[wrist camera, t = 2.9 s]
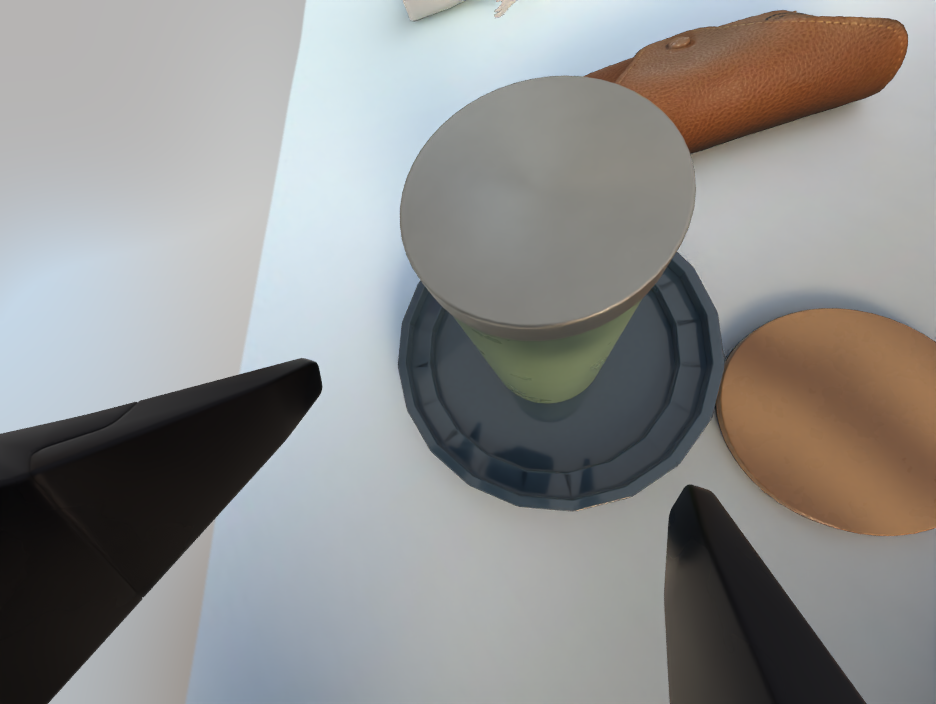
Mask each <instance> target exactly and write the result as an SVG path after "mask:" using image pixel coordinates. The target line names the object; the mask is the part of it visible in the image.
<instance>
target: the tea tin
mask: <svg viewBox="0 0 936 704" xmlns="http://www.w3.org/2000/svg"><path fill="white" fill-rule="evenodd" d="M695 193H696V184H695V171H694V167H693V163H692V159H691V155H690V152H689V149H688V147H687V145H686V143H685V140H684V138H683V136H682V135H681V133H680V132H679V130H678V129H677V127H676V126H675V124H674V123H673V122H672V121H671V120H670V119H669V117H668V116H667V115H666V114H665V113H664V112H663V111H662V110H661V109H660V108H658V107H657V106H656V105H655V104H653V103H652V102H651V101H650V100H648V99H646V98H645V97H643V96H641V95H640V94H638V93H636V92H635V91H632V90H630V89H628V88H625V87H623V86H621V85H618V84H615V83H611V82H608V81H604V80H601V79H595V78H589V77H581V76H549V77H542V78H535V79H529V80H525V81H521V82H517V83H514V84H511V85H508V86H505V87H502V88H499V89H497V90H495V91H492V92H490V93H488V94H486V95H484V96H482V97H480V98H478V99H477V100H475V101H473V102H471V103H470V104H468V105H466V106H465V107H464V108H462V109H461V110H459V111H458V112H457V113H455V114H454V115H453V116H452V117H450V118H449V119H448V120H447V121H446V122H445V123H444V124H443V125H441V126H440V127H439V129H438V130H437V131H436V132H435V133H434V134H433V135H432V136H431V137H430V138H429V140H428V141H427V143H426V144H425V145H424V147H423V148H422V149H421V151H420V152H419V154H418V156H417V158H416V159H415V161H414V163H413V165H412V167H411V169H410V172H409V174H408V176H407V179H406V182H405V185H404V189H403V192H402V198H401V205H400V229H401V237H402V242H403V245H404V249H405V252H406V255H407V257H408V259H409V262H410V264H411V266H412V268H413V270H414V271H415V273H416V274H417V276H418V277H419V279H420V280H421V282H422V283H423V284H424V285H425V287H426V288H427V289H428V291H429V292H430V293H431V294H432V296H433V297H434V298H435V299H436V300H437V301H438V302H439V304H440V305H441V306H442V307H443V308H444V309H445V310H447V311H448V312H449V313H450V314H452V315H453V317H454V318H455V319H456V321H457V322H458V323H459V325H460V326H461V327H462V329H463V330H464V331H465V333H466V334H467V335H468V337H469V338H470V339H471V341H472V342H473V343H474V345H475V346H476V348H477V349H478V350H479V352H480V353H481V354H482V356H483V357H484V358H485V360H486V361H487V362H488V364H489V365H490V366H491V368H492V369H493V370H494V372H495V373H496V374H497V376H498V377H499V378H500V380H501V381H502V382H503V383H504V385H505V386H506V387H507V388H508V389H510V390H511V391H512V392H513V393H515V394H516V395H518V396H520V397H522V398H524V399H526V400H529V401H532V402H537V403H557V402H562V401H565V400H568V399H571V398H573V397H575V396H577V395H578V394H580V393H581V392H583V391H584V390H585V389H586V388H587V387H588V386H589V385H590V384H591V383H592V382H593V380H594V379H595V377H596V376H597V374H598V372H599V371H600V369H601V367H602V366H603V364H604V362H605V361H606V359H607V357H608V356H609V354H610V352H611V350H612V349H613V347H614V345H615V344H616V342H617V340H618V339H619V337H620V335H621V334H622V332H623V330H624V329H625V327H626V325H627V324H628V322H629V320H630V319H631V317H632V315H633V313H634V312H635V310H636V308H637V307H638V305H639V303H640V302H641V300H642V298H643V297H644V296H645V295H646V294H647V293H648V292H649V291H650V290H651V288H652V287H653V286H654V285H655V284H656V283H657V281H658V280H659V279H660V277H661V275H662V274H663V272H664V271H665V269H666V268H667V266H668V264H669V263H670V261H671V260H672V258H673V256H674V255H675V253H676V252H677V250H678V249H679V247H680V245H681V244H682V241H683V239H684V237H685V235H686V232H687V230H688V228H689V225H690V221H691V218H692V214H693V210H694V204H695Z"/></svg>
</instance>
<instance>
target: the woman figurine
mask: <svg viewBox="0 0 936 704" xmlns="http://www.w3.org/2000/svg"><path fill="white" fill-rule="evenodd" d="M463 1H465V0H403V3H404V5H405V8H406V10H407V13H408V15H409V18H410V20H411V21H416V20H419V19H422V18H424V17H427V16H430V15H432V14H435V13H438V12H440V11H443V10H446V9H449V8H451V7H453V6H455V5H457V4H459V3H461V2H463ZM499 1H501V2H502V4H501V5H500V6H499V7H498V8H497V9H496V10H495V11H494V12H497V13H496V14H495V15H494V17H495V18H499V17H501V16H502V15H504V13H505V12H506V11H507V10H508V8H509V7H510V6H511V5H512V4H514V3H515V2H516V1H517V0H496V2H499ZM498 11H499V12H498Z"/></svg>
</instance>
